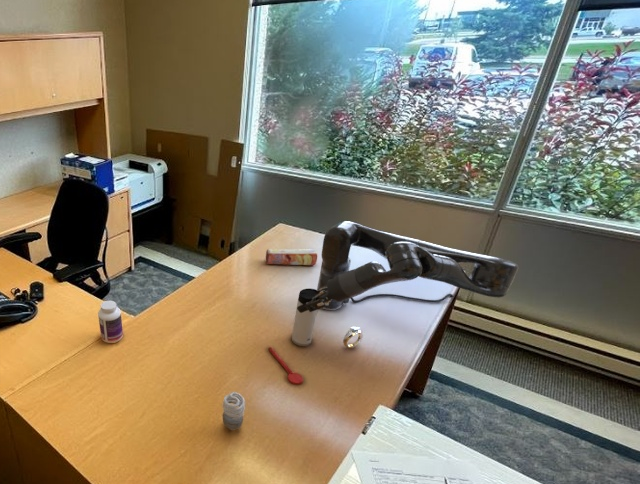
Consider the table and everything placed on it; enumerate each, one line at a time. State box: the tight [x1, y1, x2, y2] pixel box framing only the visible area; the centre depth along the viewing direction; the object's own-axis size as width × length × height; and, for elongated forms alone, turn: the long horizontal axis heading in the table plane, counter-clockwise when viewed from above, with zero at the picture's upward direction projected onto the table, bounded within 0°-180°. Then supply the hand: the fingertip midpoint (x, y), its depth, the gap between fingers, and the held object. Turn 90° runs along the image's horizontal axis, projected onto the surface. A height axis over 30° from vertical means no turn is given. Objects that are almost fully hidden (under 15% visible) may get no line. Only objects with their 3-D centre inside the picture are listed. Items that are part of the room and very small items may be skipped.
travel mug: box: [291, 288, 320, 347], centre depth 137 cm, size 6×7×20 cm
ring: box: [342, 326, 364, 349], centre depth 136 cm, size 7×3×8 cm, turn 104°
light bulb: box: [222, 391, 246, 431], centre depth 110 cm, size 6×6×12 cm
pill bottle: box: [97, 300, 124, 344], centre depth 147 cm, size 8×8×14 cm
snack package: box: [265, 248, 318, 266], centre depth 187 cm, size 21×7×7 cm, turn 79°
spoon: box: [268, 346, 304, 386], centre depth 132 cm, size 17×4×1 cm, turn 14°
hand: (302, 305), depth 136 cm, fingers closed on travel mug, 6 cm apart
